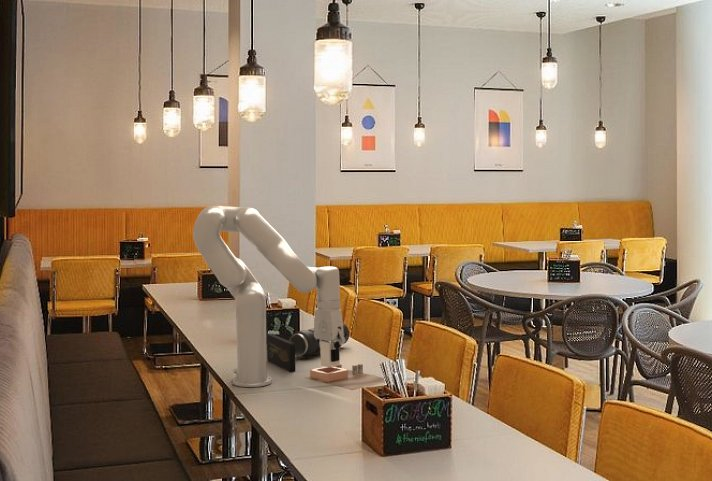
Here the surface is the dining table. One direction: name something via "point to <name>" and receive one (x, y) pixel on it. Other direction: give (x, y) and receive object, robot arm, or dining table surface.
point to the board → (354, 379)
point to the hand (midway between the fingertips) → (330, 359)
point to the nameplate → (281, 352)
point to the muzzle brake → (310, 342)
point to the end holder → (329, 373)
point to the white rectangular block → (327, 354)
